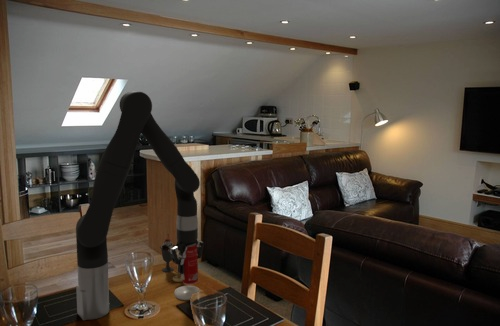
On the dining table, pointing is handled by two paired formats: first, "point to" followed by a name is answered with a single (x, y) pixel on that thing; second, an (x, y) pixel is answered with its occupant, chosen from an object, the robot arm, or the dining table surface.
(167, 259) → the sundae
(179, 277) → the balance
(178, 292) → the saucer
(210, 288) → the dining table surface
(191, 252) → the beverage can
